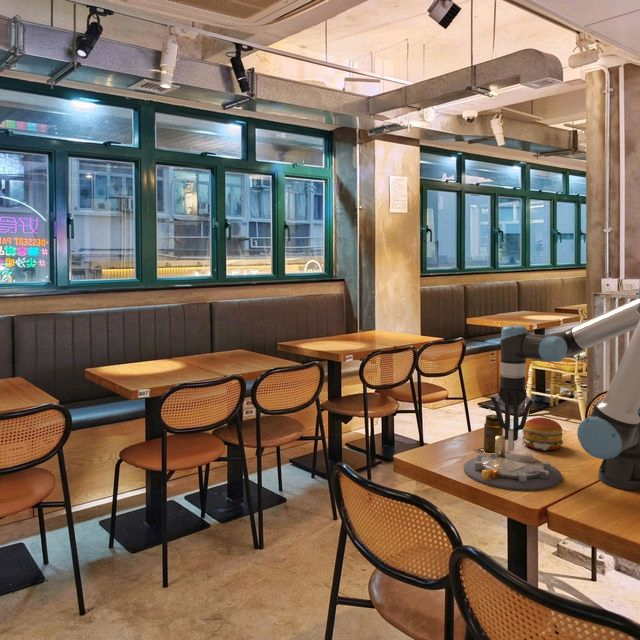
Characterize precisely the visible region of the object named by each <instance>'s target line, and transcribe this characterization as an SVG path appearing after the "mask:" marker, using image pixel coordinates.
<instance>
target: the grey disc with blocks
mask: <svg viewBox="0 0 640 640" xmlns="http://www.w3.org/2000/svg"><path fill="white" fill-rule="evenodd" d="M505 439H506V437H505V435H503V436H502V435H497V436H495V454H490V455H486V454H483V453H478V454H477V457H478V461H474V469H475V470H489V477H490V478H494V479H496V478H498V477H501V478H507V479H517V480H518V481H519V482H527V479H534V478H538V477H539V478H542V479H547V478H549V471H547V470H550V468H551V466H552V465H551V462H549V461H541V460H539V459H536V458H534V455H533V454H529V453H526V454H519V453H508V452H506V451H507V450H506V440H505Z"/></svg>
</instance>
